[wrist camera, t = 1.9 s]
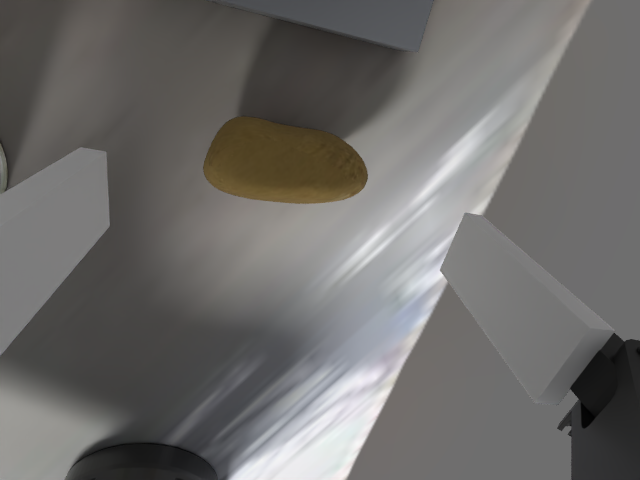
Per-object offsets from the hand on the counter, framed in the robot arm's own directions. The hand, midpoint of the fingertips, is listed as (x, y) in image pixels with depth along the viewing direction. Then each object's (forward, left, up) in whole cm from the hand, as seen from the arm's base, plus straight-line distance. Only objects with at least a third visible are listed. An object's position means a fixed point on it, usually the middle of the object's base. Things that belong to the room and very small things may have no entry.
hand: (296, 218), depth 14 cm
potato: (0, 0, -12) cm, 12 cm away
